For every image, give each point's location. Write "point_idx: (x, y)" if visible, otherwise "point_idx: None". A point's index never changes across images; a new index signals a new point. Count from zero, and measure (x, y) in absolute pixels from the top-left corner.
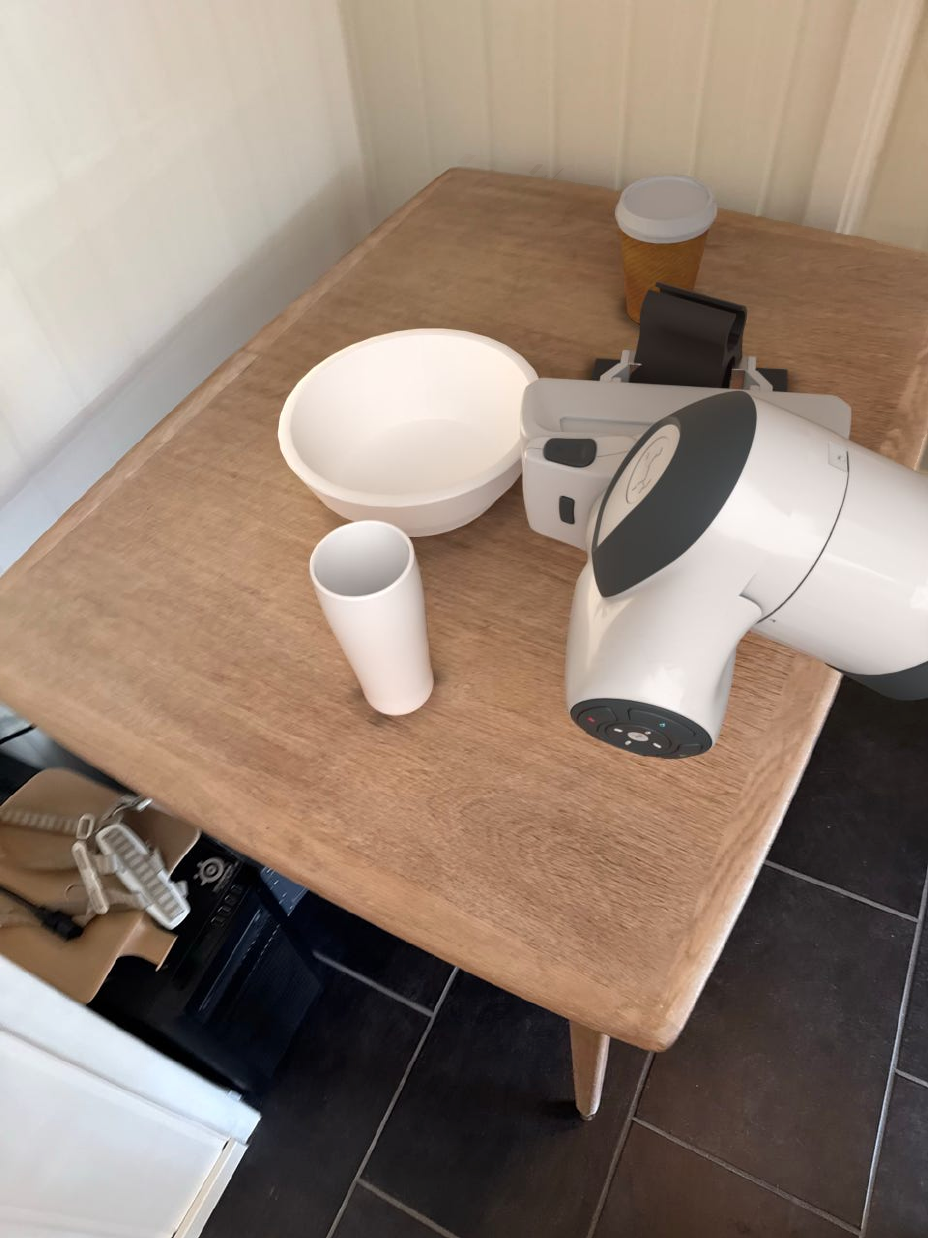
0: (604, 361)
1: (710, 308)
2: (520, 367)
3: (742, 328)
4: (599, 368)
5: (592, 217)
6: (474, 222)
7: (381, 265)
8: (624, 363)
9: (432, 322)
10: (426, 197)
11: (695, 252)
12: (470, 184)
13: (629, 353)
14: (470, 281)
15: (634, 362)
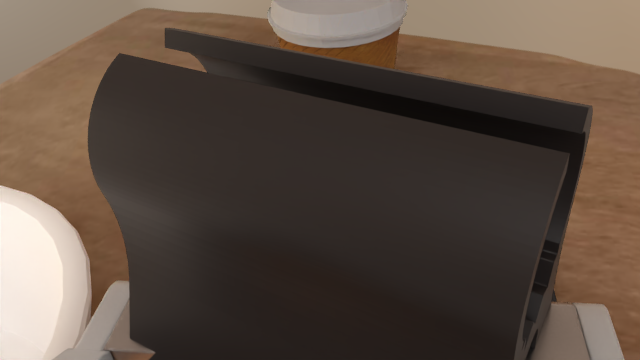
0: None
1: (404, 125)
2: (61, 254)
3: (567, 214)
4: None
5: (272, 44)
6: (141, 53)
7: (15, 99)
8: (89, 350)
9: (46, 165)
10: (98, 32)
11: (383, 62)
12: (148, 20)
13: (127, 299)
14: None
15: (131, 343)
